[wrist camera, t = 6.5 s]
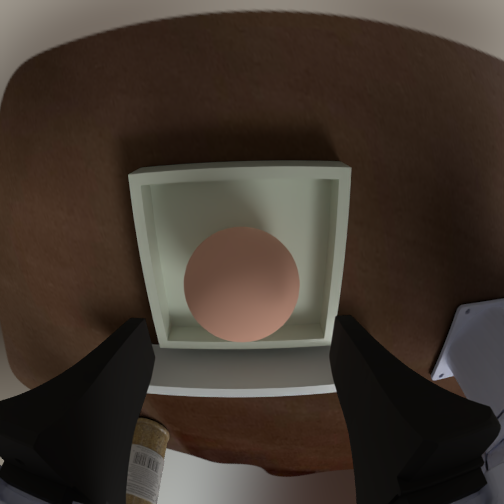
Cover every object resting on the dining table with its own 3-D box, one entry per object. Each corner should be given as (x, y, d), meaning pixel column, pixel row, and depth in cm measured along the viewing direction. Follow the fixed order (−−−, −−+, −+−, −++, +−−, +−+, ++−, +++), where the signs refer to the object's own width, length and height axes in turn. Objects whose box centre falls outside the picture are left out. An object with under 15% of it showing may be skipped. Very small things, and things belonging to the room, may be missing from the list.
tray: (340, 161, 16) (351, 167, 14) (326, 325, 21) (332, 345, 19) (141, 167, 16) (128, 174, 14) (166, 328, 21) (160, 347, 19)
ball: (293, 210, 17) (312, 255, 12) (290, 300, 19) (303, 364, 14) (188, 213, 17) (163, 258, 12) (198, 301, 19) (183, 366, 14)
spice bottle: (117, 420, 26) (83, 536, 14) (147, 411, 25) (115, 542, 13) (149, 443, 27) (126, 553, 15) (180, 435, 26) (162, 558, 14)
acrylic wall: (371, 338, 21) (388, 377, 18) (369, 346, 22) (385, 385, 18) (124, 342, 21) (107, 380, 18) (127, 350, 22) (110, 388, 18)
